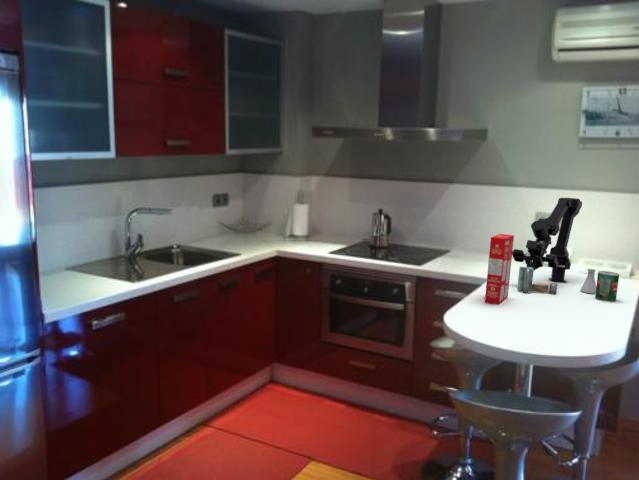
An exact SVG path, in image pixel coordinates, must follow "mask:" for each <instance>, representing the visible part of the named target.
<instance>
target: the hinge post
mask: <svg viewBox="0 0 639 480" xmlns="http://www.w3.org/2000/svg"><path fill="white" fill-rule="evenodd" d="M557 293H558V284H557V283H549V289H548V294H550V295H557Z"/></svg>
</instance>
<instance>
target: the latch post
mask: <svg viewBox="0 0 639 480" xmlns="http://www.w3.org/2000/svg"><path fill="white" fill-rule="evenodd" d="M530 276H531V269H525V274H524V284H523V291H522V294H524V295H525V294H526V295H527V294H530V292H529V286H530Z"/></svg>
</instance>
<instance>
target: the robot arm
mask: <svg viewBox="0 0 639 480" xmlns="http://www.w3.org/2000/svg"><path fill="white" fill-rule="evenodd" d="M582 207H583V202H582V201H581V200H580V198H576V197H559V198H558V200H557V203H556V204H555V207H554V209H553V210H552V212H551V214H550V215H549V216H547V218H538V220H535V221H533V222H532V223H531V225H530V228H531V230H532V233H533V236H534V238H535V240H531V239H528V240H527V241H526V245H525V248H526V249H527V252H525V253H524V250H523V249H517V248H513V250H512V259H513V260H514V261H515V262H517V263H523V262H525V263H526V266H525V267H532V268H533V269H534V271H536V270H538V269H539V268H543V267H544V264H545V263H547V266H548V268H551V274H550V275H551V277H548V279H549V280H550V281H551V282H555V283H556V282H557V283H567V281H566V279H565V276H566V270H567V271H568V270H571V265H572V263H571V260H570V258H569V256H570V253H569V251H568V248H567V247H568V244H569V239H570V236H571V231H572V228H573V227H572V226H573V223H574V220H575V218H576V216H578V214H580V211H581V209H582ZM560 222H561V223H560ZM556 235H558V236H557V239H556V244H555V246H552V247H551V248H550V250H549V251H550V252H549V253H547V252H548V251H547V250H548V247H549V246H550V245H552V237H551V236H554V237H555V236H556Z"/></svg>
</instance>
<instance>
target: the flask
mask: <svg viewBox="0 0 639 480" xmlns="http://www.w3.org/2000/svg"><path fill="white" fill-rule="evenodd" d="M595 275H596V269H593V268H587V274H586V278H585V281H584V282H583V284H582V286H581V288H580V289H579V290H580V292H581V293H585V294H591V295H595V293H596V285H597V282H596V279H595Z"/></svg>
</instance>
